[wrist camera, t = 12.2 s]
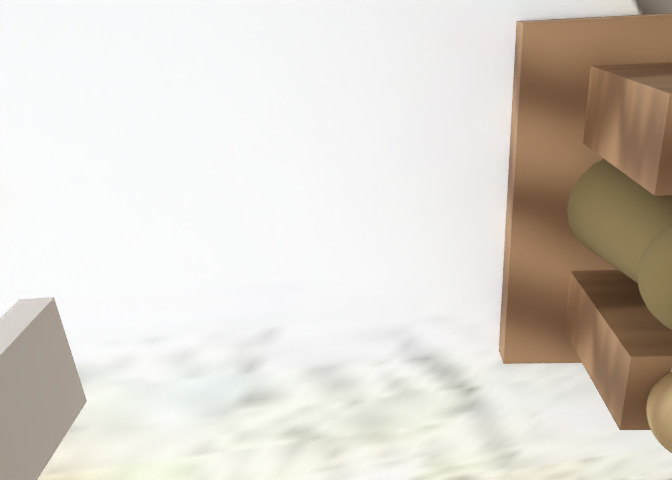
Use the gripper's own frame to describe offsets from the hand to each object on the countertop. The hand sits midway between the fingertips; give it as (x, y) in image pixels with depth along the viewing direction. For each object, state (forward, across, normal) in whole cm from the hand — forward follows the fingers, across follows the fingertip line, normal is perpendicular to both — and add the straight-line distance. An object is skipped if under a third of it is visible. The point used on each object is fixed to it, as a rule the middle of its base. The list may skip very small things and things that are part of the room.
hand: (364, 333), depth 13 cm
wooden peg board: (+23, +14, -6) cm, 27 cm away
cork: (+21, +14, -6) cm, 26 cm away
